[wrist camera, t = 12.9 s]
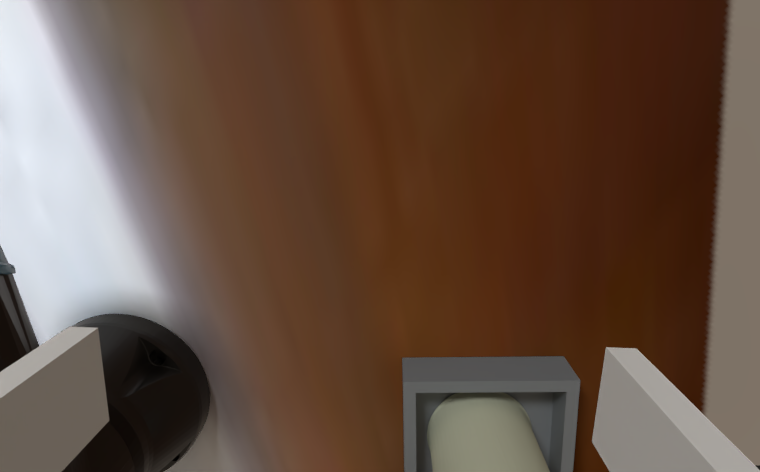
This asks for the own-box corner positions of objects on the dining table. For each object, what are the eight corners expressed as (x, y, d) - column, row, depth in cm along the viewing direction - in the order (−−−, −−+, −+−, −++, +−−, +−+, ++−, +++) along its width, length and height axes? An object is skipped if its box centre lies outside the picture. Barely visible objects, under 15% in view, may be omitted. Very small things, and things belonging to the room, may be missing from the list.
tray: (404, 492, 47) (405, 526, 43) (402, 357, 44) (403, 381, 40) (553, 492, 46) (568, 527, 43) (563, 356, 43) (580, 380, 39)
